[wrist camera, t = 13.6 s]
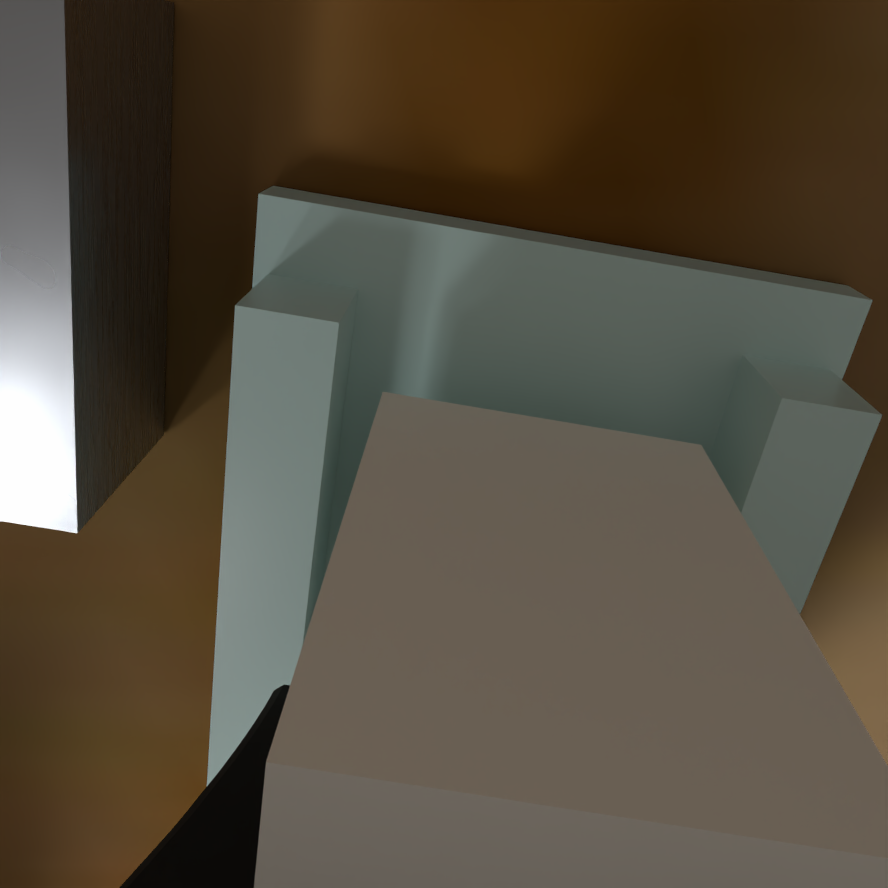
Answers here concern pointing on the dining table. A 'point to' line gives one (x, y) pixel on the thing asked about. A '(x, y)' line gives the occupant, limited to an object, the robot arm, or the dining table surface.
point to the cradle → (505, 390)
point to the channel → (81, 250)
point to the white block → (559, 680)
